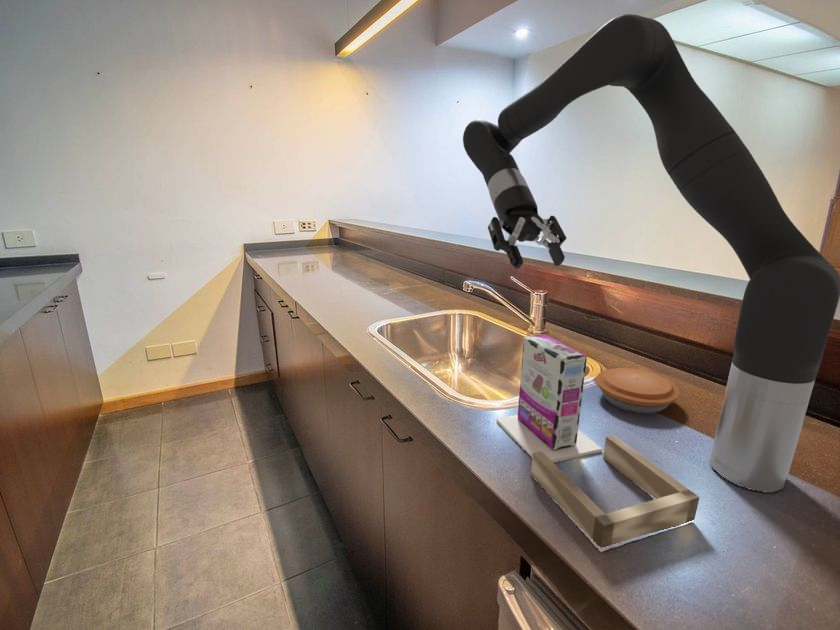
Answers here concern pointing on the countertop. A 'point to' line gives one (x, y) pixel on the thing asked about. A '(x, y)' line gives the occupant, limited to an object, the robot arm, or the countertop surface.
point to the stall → (626, 523)
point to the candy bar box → (551, 390)
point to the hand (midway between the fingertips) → (540, 264)
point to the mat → (535, 444)
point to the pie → (636, 390)
